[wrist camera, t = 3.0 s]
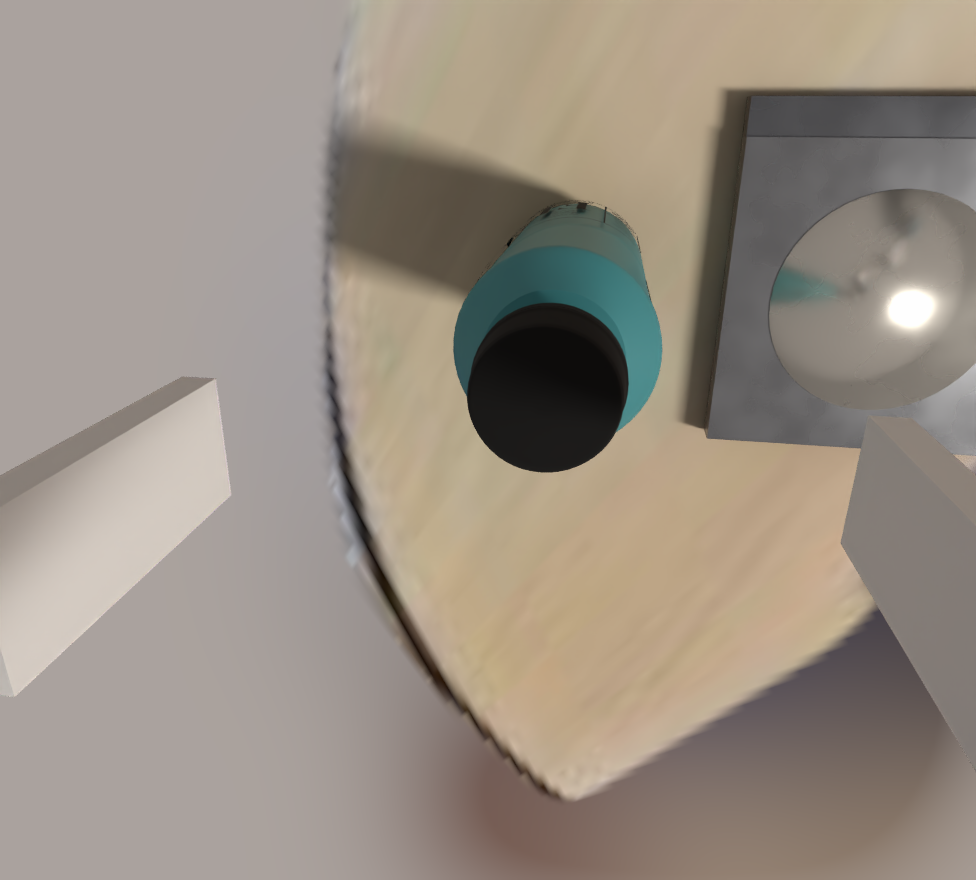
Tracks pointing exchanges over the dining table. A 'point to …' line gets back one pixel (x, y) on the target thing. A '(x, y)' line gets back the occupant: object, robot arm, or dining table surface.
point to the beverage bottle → (559, 340)
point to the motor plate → (850, 272)
